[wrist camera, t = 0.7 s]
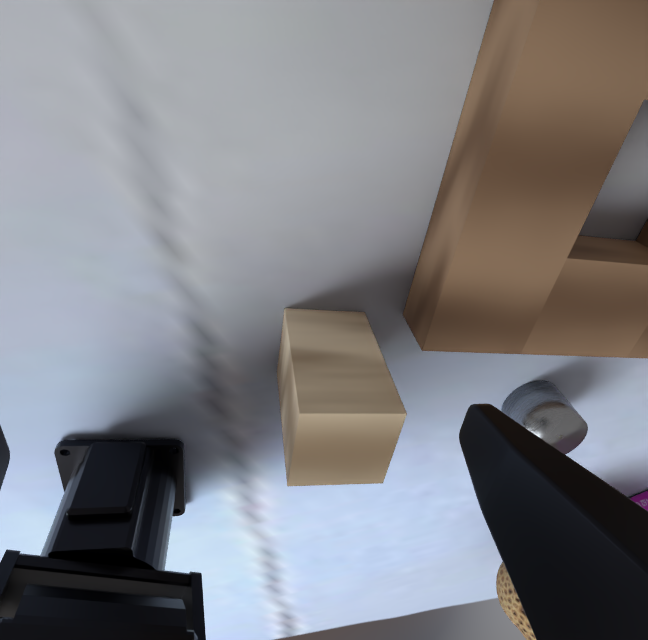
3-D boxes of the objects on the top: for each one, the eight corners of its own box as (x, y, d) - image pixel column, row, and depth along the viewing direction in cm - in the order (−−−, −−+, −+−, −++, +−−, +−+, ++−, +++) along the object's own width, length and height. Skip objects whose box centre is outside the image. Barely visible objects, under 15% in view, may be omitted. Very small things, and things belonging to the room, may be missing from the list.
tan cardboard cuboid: (350, 374, 24) (383, 483, 19) (276, 372, 23) (287, 486, 18) (364, 312, 22) (406, 413, 16) (284, 308, 21) (299, 413, 16)
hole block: (662, 328, 26) (706, 360, 23) (402, 314, 23) (422, 350, 20) (890, -12, 17) (997, -17, 15) (526, -112, 14) (586, -140, 12)
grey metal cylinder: (542, 422, 29) (570, 459, 27) (493, 422, 28) (516, 460, 26) (566, 380, 27) (598, 416, 25) (514, 379, 27) (542, 416, 24)
